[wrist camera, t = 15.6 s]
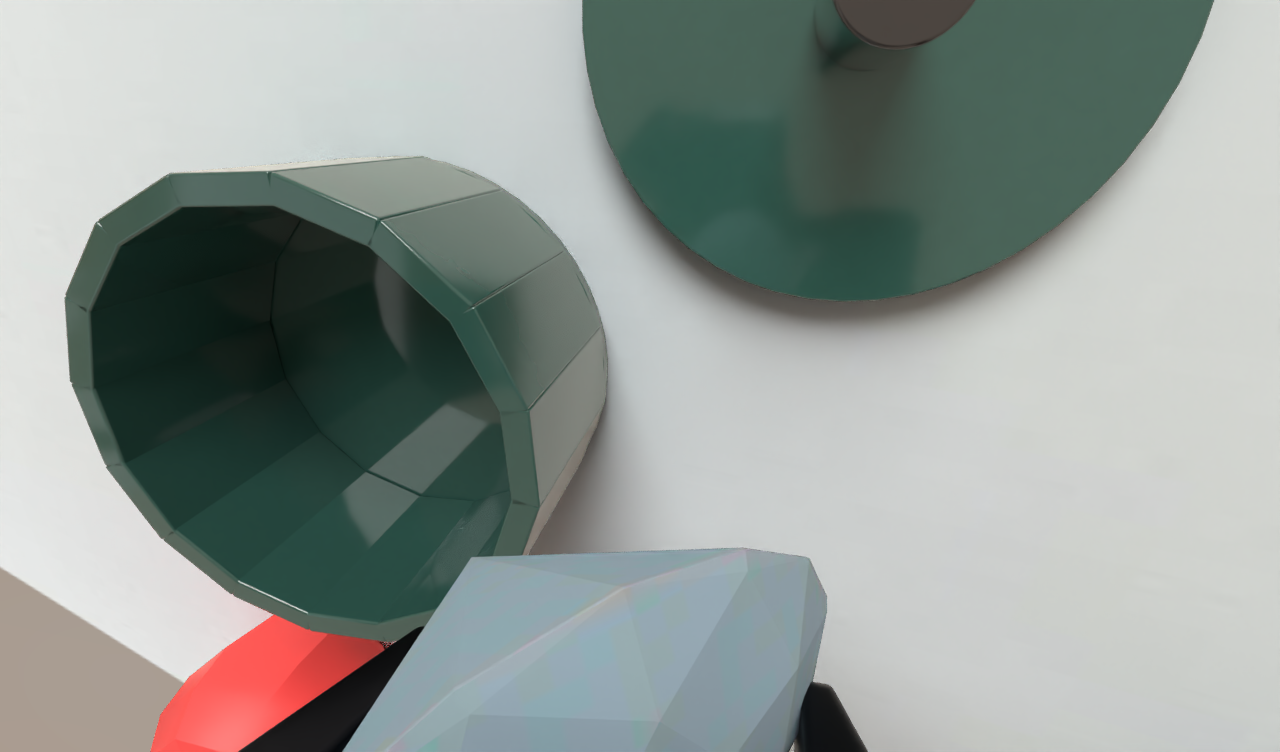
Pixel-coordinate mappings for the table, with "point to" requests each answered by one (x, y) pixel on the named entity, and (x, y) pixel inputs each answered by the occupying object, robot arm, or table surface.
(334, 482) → the pot
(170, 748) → the apple
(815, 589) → the gemstone
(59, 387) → the table surface
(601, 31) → the lid
